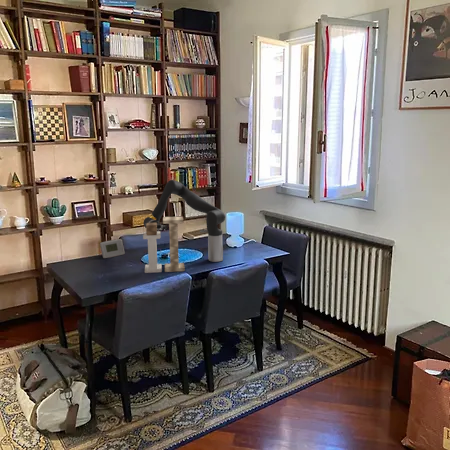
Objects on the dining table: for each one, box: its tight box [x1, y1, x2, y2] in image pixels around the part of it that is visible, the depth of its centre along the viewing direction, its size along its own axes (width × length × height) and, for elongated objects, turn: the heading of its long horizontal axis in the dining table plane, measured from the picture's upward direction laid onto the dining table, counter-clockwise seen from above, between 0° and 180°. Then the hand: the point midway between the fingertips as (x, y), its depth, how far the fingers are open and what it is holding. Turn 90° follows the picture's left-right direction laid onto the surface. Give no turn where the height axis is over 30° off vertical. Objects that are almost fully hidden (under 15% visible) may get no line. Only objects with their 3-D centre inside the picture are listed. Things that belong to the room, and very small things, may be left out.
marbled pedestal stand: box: [162, 216, 186, 273], centre depth 283 cm, size 12×10×32 cm
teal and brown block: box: [145, 223, 158, 235], centre depth 285 cm, size 6×20×6 cm, turn 6°
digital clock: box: [99, 238, 126, 259], centre depth 313 cm, size 16×9×11 cm, turn 119°
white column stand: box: [142, 230, 163, 274], centre depth 282 cm, size 10×10×23 cm
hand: (157, 227), depth 296 cm, fingers open, 8 cm apart
